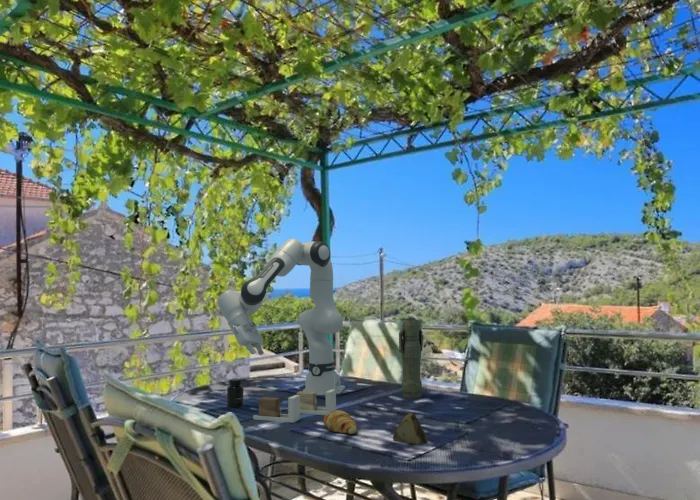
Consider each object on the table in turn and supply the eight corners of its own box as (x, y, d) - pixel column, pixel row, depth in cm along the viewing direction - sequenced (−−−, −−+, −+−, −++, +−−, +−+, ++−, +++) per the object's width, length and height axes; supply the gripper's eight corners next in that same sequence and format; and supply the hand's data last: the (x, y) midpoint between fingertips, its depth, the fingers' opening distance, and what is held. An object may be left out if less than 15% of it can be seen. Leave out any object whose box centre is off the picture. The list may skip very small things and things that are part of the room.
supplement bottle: (239, 410, 238) (239, 381, 239) (224, 409, 240) (224, 380, 240) (246, 406, 245) (245, 378, 246) (230, 406, 247) (230, 377, 247)
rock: (383, 434, 191) (401, 436, 183) (394, 410, 195) (412, 412, 187) (406, 450, 195) (425, 453, 186) (416, 426, 199) (435, 428, 190)
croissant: (362, 444, 199) (371, 422, 202) (340, 435, 195) (349, 412, 197) (330, 430, 217) (339, 410, 219) (309, 421, 212) (318, 400, 215)
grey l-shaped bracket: (260, 418, 224) (260, 392, 225) (300, 421, 218) (299, 395, 219) (253, 421, 219) (252, 395, 220) (293, 425, 213) (293, 398, 214)
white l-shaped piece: (297, 411, 234) (297, 387, 235) (336, 414, 228) (335, 389, 229) (291, 415, 229) (290, 390, 229) (330, 418, 223) (330, 392, 223)
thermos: (395, 397, 260) (393, 318, 262) (415, 393, 267) (413, 317, 268) (408, 400, 253) (406, 320, 254) (428, 396, 259) (426, 318, 261)
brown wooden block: (263, 416, 223) (263, 397, 223) (280, 417, 220) (279, 398, 221) (259, 418, 219) (258, 399, 220) (275, 420, 217) (275, 400, 217)
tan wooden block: (300, 410, 233) (300, 391, 233) (316, 411, 230) (316, 392, 231) (296, 412, 229) (296, 393, 230) (312, 413, 227) (312, 394, 227)
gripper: (238, 319, 229) (255, 348, 225) (256, 323, 249) (272, 350, 245) (225, 328, 230) (242, 357, 226) (244, 331, 249) (260, 359, 245)
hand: (258, 354), depth 235 cm, fingers open, 8 cm apart
